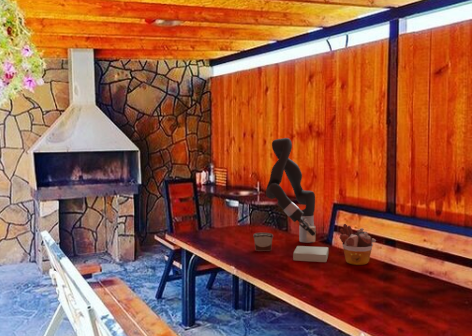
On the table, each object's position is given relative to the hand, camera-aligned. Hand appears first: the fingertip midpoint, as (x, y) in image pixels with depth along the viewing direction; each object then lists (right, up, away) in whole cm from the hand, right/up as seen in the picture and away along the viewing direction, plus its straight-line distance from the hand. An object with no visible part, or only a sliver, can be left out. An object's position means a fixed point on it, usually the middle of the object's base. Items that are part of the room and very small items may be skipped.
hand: (314, 233), depth 270 cm
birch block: (-2, -4, +1) cm, 5 cm away
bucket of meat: (+21, -14, -10) cm, 28 cm away
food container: (-28, -13, +21) cm, 37 cm away
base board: (-2, -13, +1) cm, 14 cm away
